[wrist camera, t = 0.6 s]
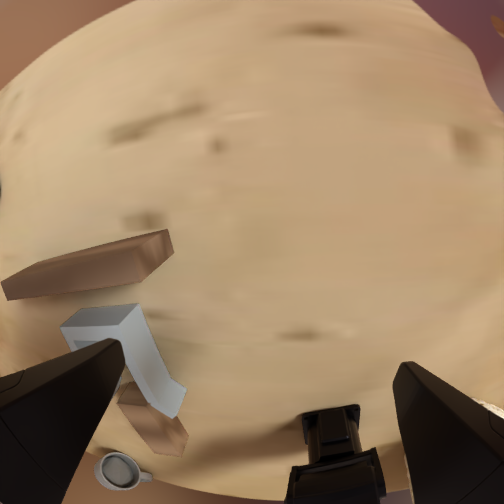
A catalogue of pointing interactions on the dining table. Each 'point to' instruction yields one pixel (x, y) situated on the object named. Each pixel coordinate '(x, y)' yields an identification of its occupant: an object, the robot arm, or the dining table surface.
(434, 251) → the dining table surface
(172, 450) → the rectangular wooden block
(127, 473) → the ceramic mug
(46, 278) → the backstop
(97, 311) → the cradle
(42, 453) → the robot arm
